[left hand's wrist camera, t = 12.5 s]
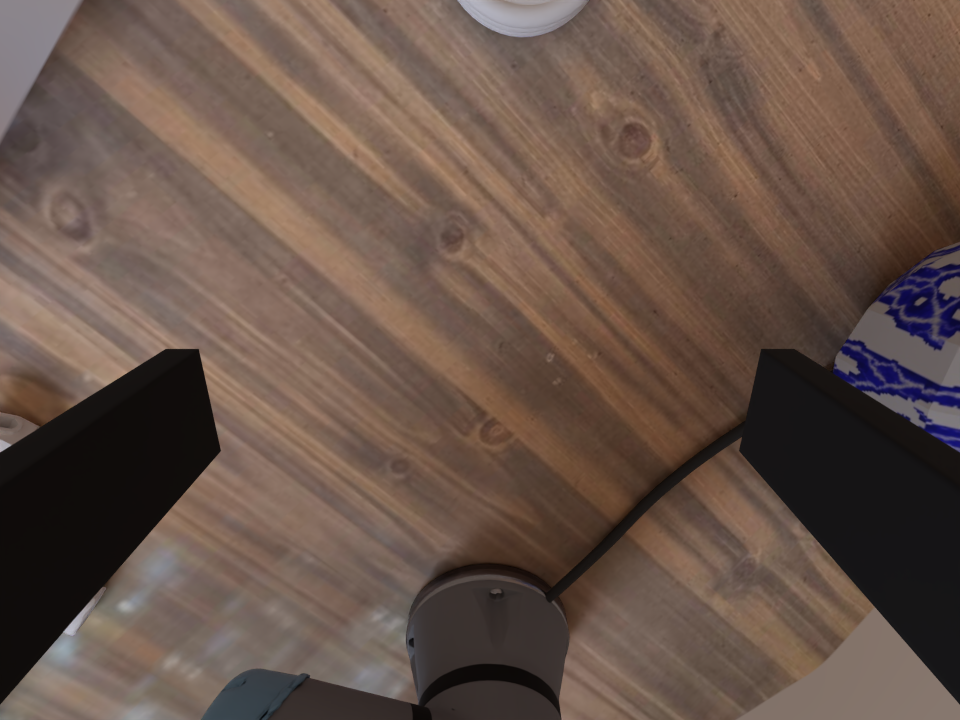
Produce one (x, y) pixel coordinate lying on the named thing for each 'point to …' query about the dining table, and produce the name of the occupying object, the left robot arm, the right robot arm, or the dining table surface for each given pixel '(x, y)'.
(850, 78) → the dining table surface
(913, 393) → the ornament
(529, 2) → the white thick disc
